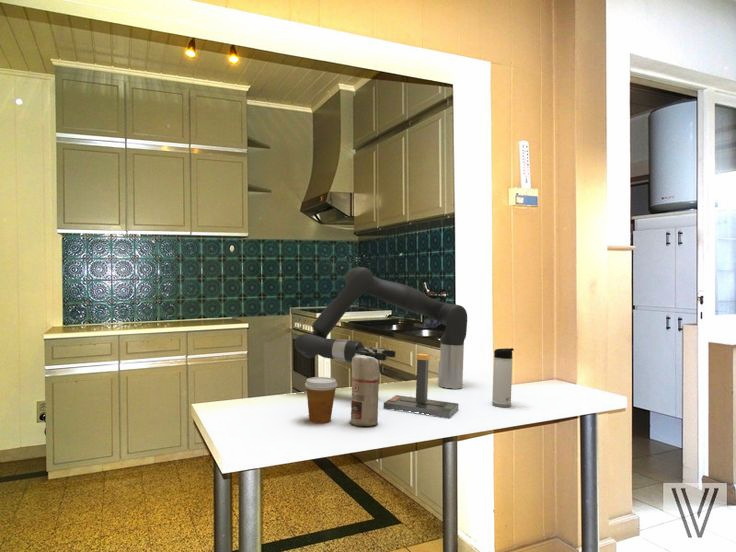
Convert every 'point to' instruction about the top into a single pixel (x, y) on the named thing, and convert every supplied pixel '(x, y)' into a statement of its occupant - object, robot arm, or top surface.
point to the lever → (422, 377)
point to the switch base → (422, 406)
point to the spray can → (364, 391)
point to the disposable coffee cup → (320, 398)
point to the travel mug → (502, 377)
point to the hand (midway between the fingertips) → (390, 355)
